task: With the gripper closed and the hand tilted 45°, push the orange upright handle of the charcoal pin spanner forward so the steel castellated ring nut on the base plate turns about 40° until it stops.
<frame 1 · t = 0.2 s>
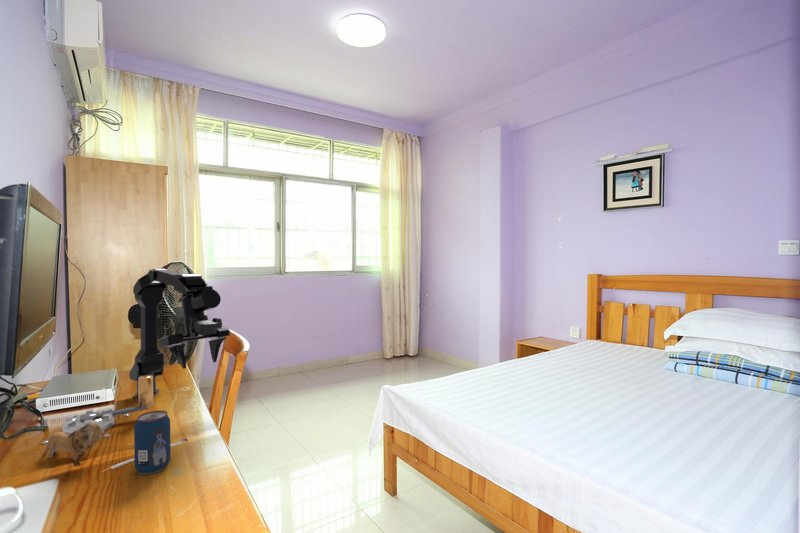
hand: (200, 365, 118), 15 cm above the table, tool pointing down, fingers open, 9 cm apart
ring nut: (110, 403, 109), point 7 cm above the table, hinge at 0.0°
soda can: (152, 468, 89), on the table
lion figurine: (72, 461, 92), on the table
base plate: (89, 433, 107), on the table
pencil: (147, 457, 95), on the table
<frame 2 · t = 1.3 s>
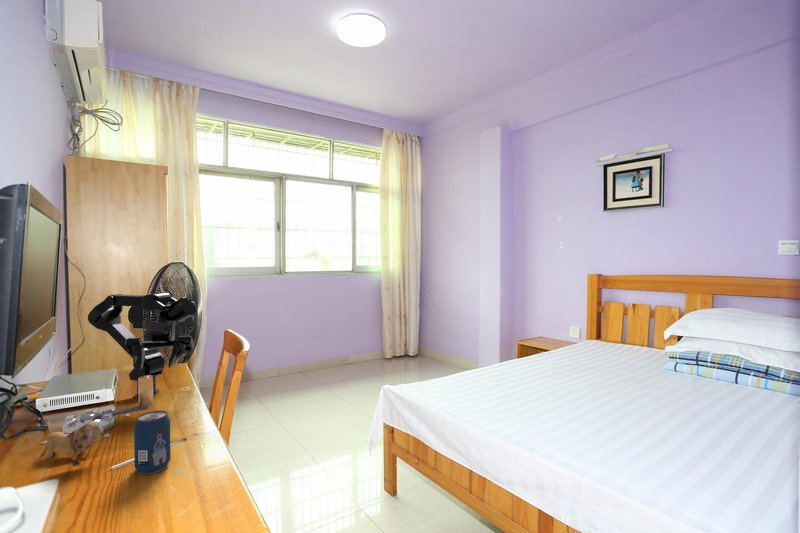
hand: (154, 368, 122), 13 cm above the table, tool tilted 45°, fingers open, 8 cm apart
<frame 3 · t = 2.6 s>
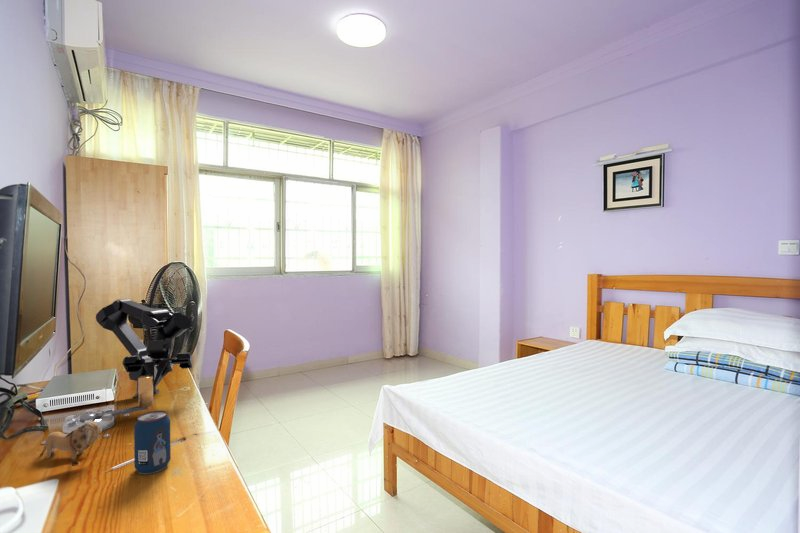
hand: (153, 386, 120), 8 cm above the table, tool tilted 45°, fingers closed
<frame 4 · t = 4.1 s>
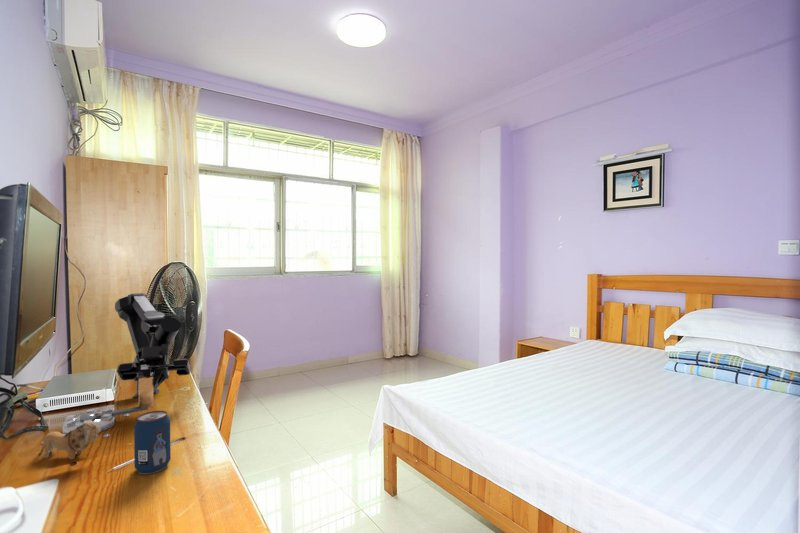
hand: (149, 394, 116), 7 cm above the table, tool tilted 45°, fingers closed, pressing on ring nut
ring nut: (110, 403, 109), point 7 cm above the table, hinge at 2.1°, touching gripper
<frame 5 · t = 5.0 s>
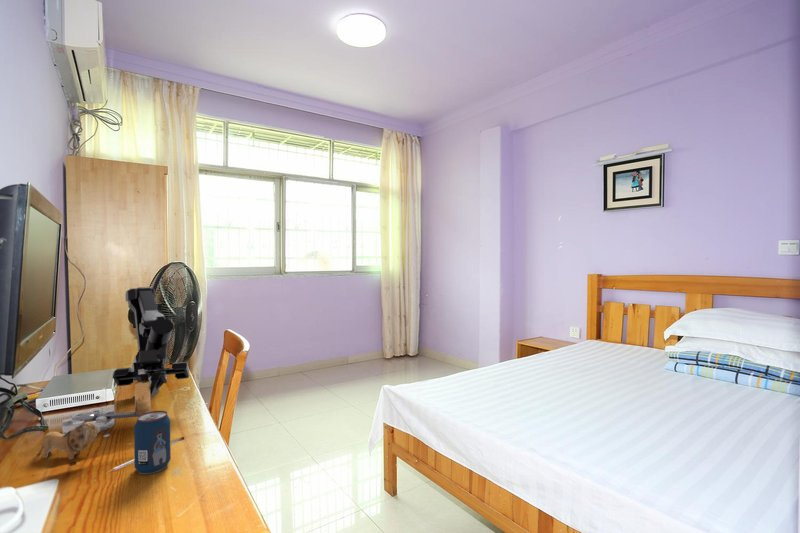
hand: (148, 400, 111), 7 cm above the table, tool tilted 45°, fingers closed, pressing on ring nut
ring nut: (108, 405, 107), point 7 cm above the table, hinge at 24.0°, touching gripper
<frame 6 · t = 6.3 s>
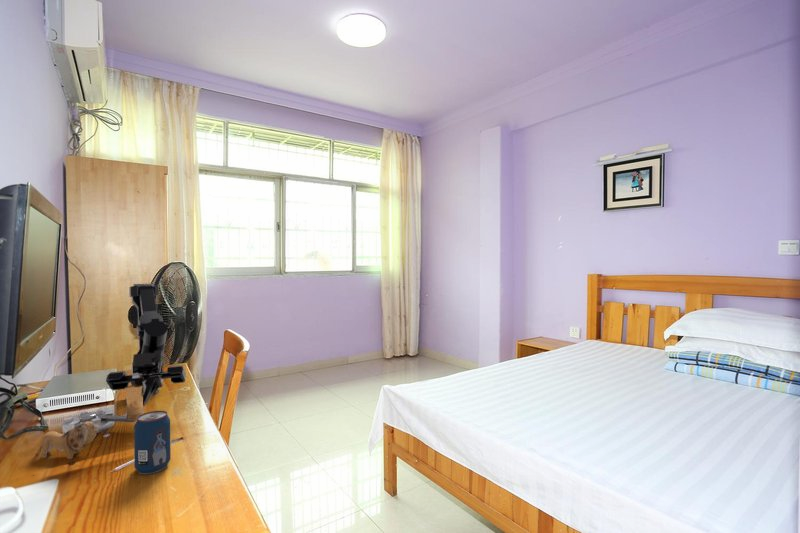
hand: (142, 405, 108), 7 cm above the table, tool tilted 45°, fingers closed
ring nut: (105, 407, 106), point 7 cm above the table, hinge at 40.3°, touching gripper
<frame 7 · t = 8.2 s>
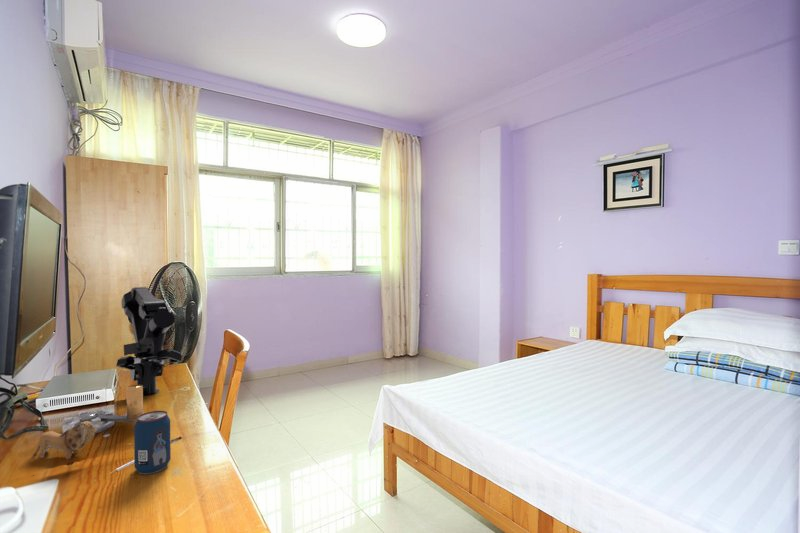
hand: (143, 387, 118), 9 cm above the table, tool tilted 30°, fingers closed
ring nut: (105, 407, 106), point 7 cm above the table, hinge at 40.3°
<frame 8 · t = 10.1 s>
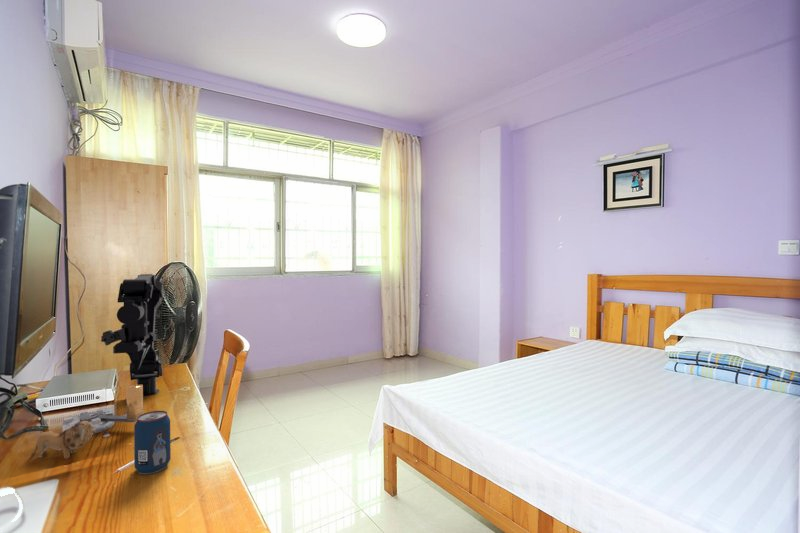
hand: (136, 369, 122), 13 cm above the table, tool pointing down, fingers closed
at the end: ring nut at +40° (first picture: +0°) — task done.
